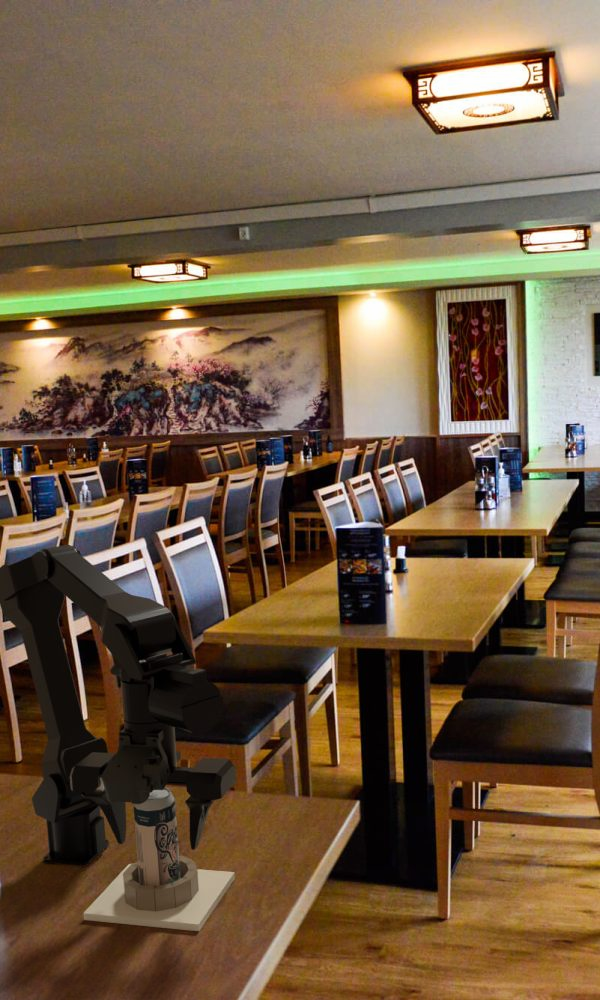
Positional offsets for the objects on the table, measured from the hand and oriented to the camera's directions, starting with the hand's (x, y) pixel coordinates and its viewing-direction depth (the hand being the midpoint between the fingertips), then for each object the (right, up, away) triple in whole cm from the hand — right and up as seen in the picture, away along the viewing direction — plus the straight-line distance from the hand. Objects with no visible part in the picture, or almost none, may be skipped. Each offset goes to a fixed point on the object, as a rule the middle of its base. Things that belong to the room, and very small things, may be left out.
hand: (157, 845), depth 114 cm
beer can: (0, -6, +1) cm, 6 cm away
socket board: (0, -6, +1) cm, 6 cm away
